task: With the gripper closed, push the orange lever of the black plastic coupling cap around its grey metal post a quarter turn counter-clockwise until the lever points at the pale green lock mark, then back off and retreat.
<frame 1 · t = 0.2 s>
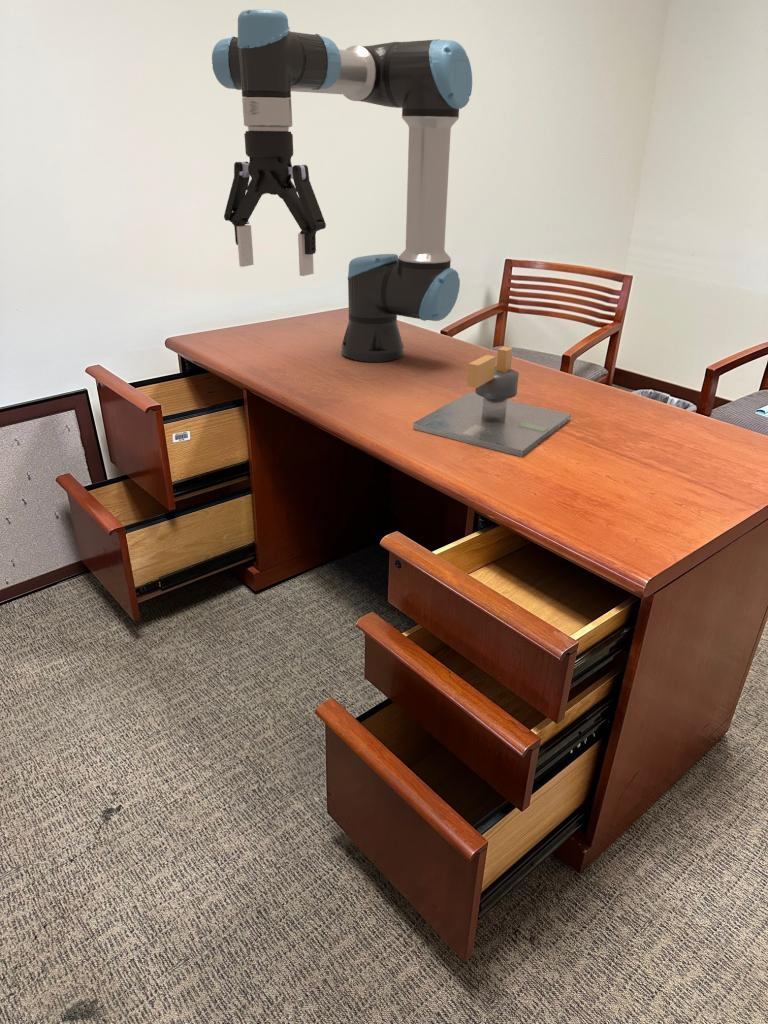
hand: (275, 270, 125), 28 cm above the table, fingers open, 13 cm apart
coupling cap: (490, 376, 132), point 10 cm above the table, hinge at 0.0°
post plate: (493, 424, 139), on the table
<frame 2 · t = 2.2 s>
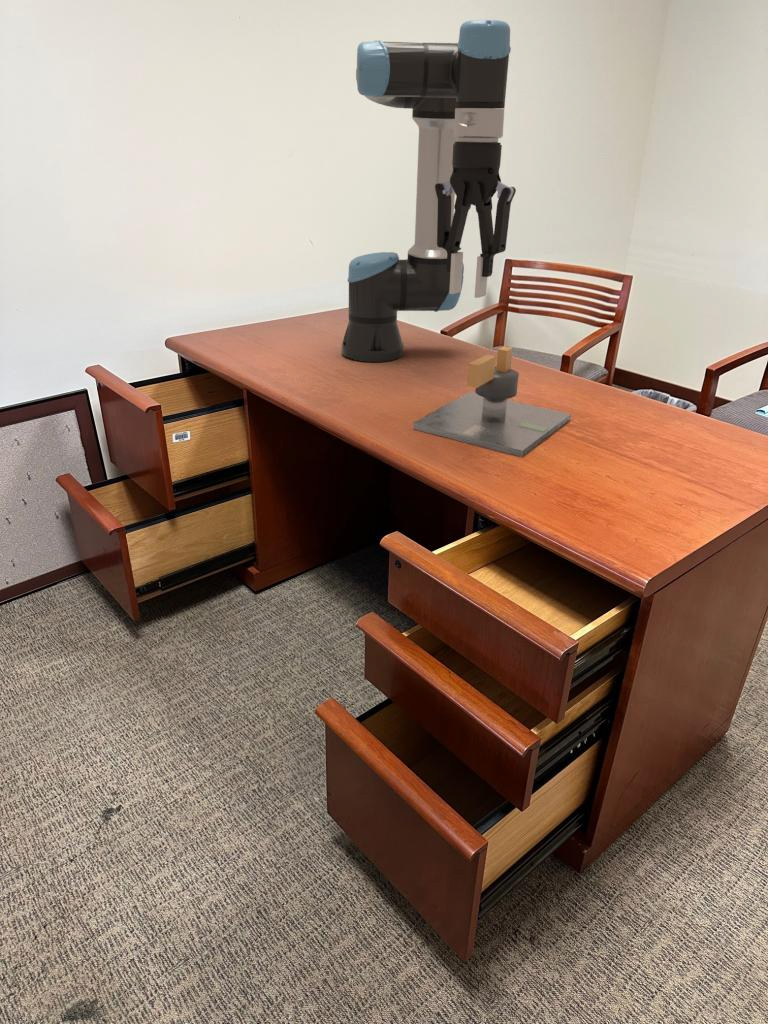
hand: (467, 294, 125), 25 cm above the table, fingers open, 4 cm apart
nothing on the table moved.
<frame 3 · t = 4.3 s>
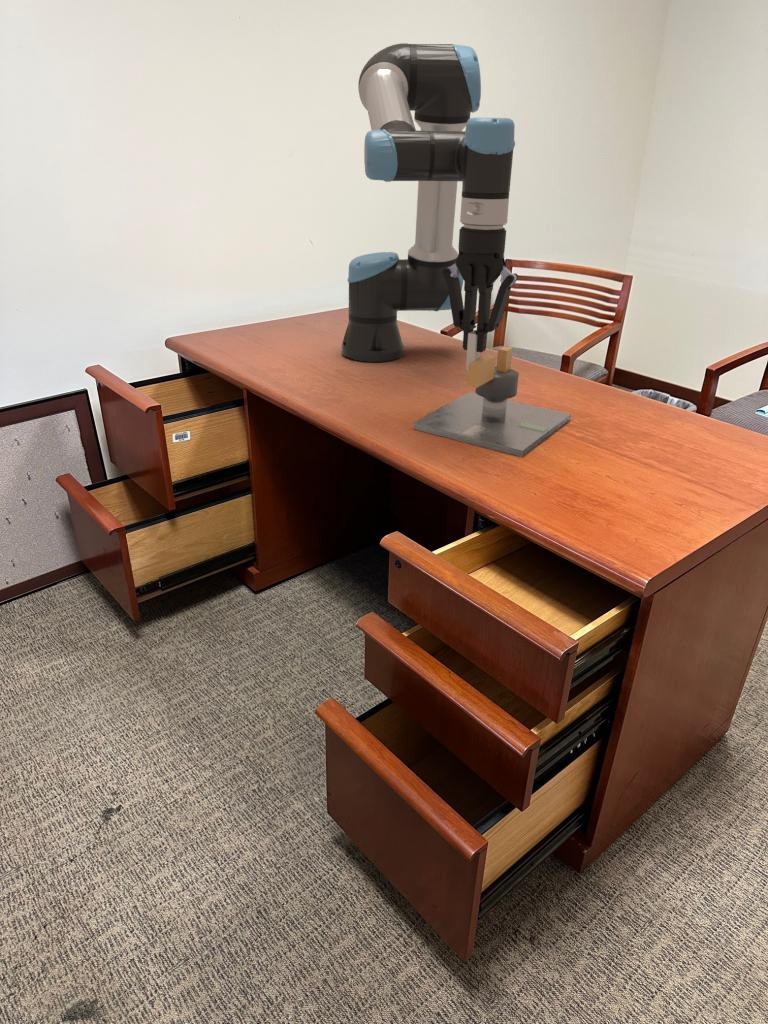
hand: (472, 368, 129), 12 cm above the table, fingers closed
coupling cap: (490, 376, 132), point 10 cm above the table, hinge at 0.0°, touching gripper
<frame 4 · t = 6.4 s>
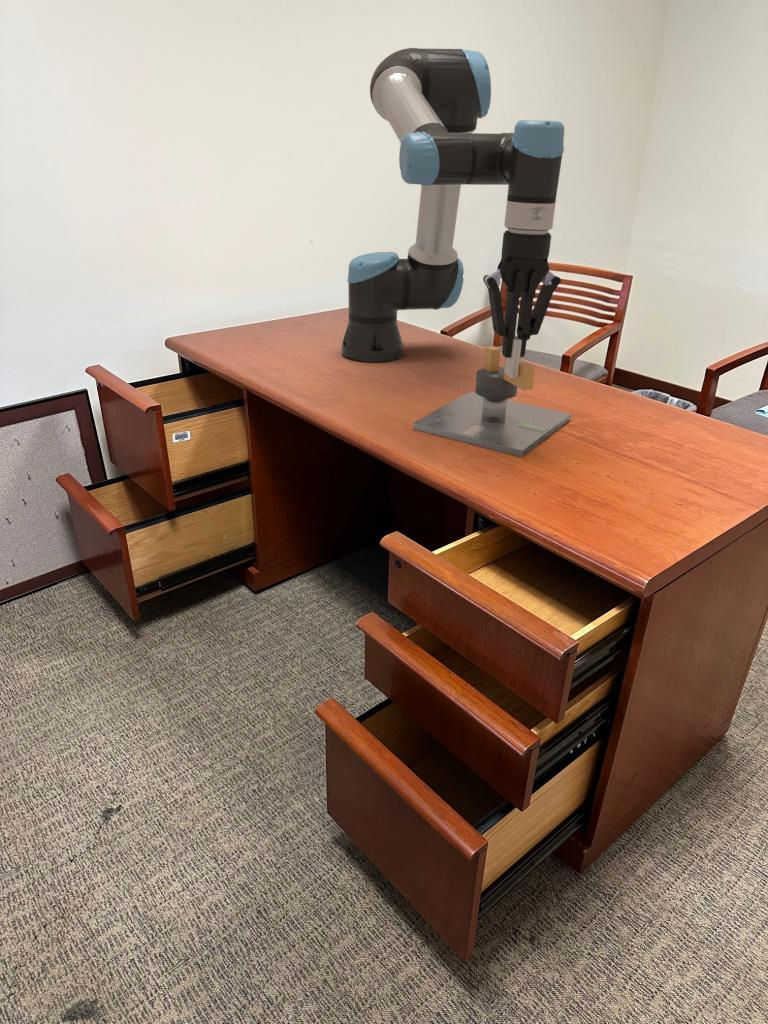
hand: (510, 375, 127), 12 cm above the table, fingers closed
coupling cap: (506, 377, 132), point 10 cm above the table, hinge at 57.3°, touching gripper
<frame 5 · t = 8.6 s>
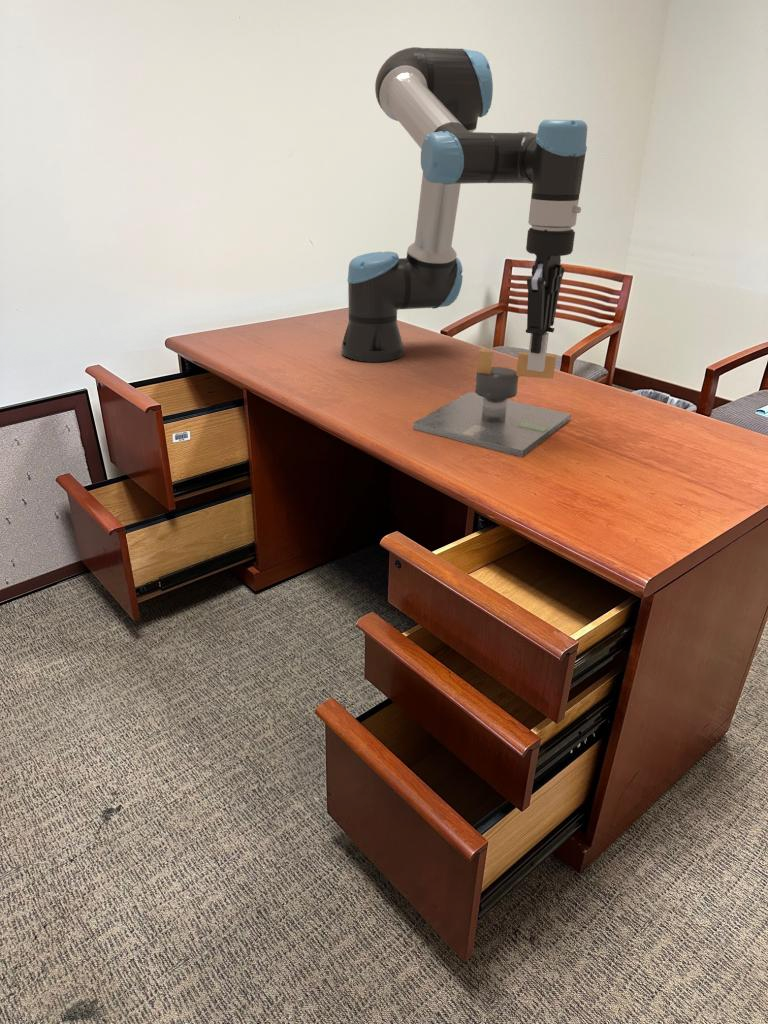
hand: (535, 369, 130), 12 cm above the table, fingers closed
coupling cap: (514, 373, 134), point 10 cm above the table, hinge at 111.9°
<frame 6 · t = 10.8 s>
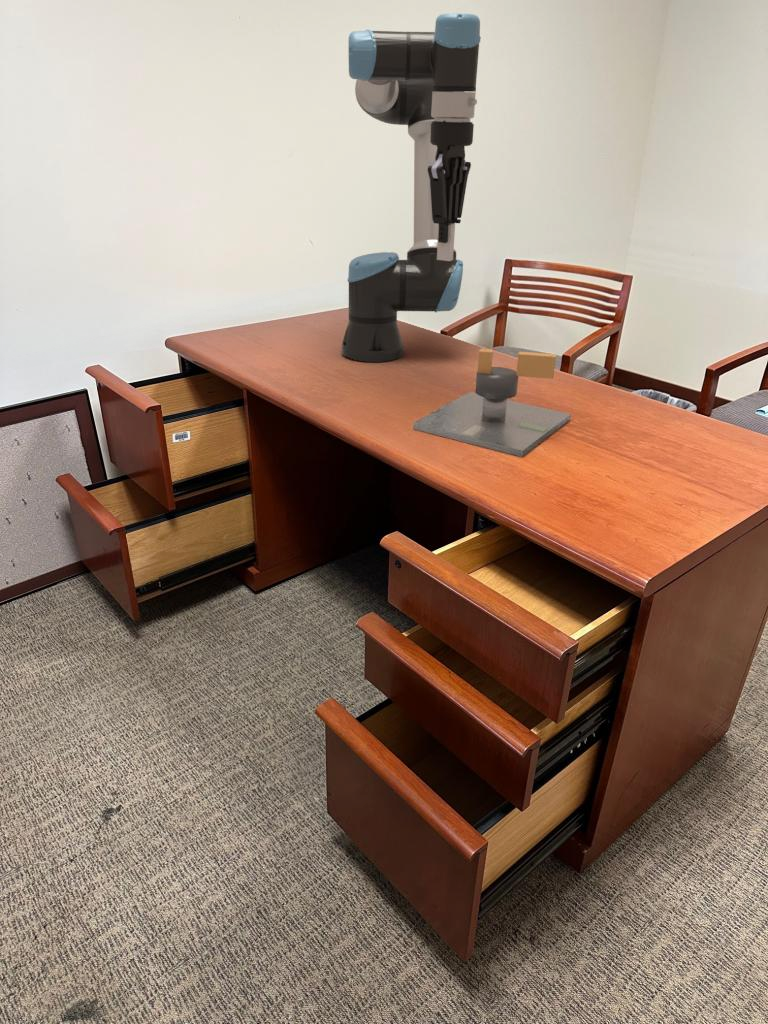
hand: (444, 259, 140), 27 cm above the table, fingers closed
nothing on the table moved.
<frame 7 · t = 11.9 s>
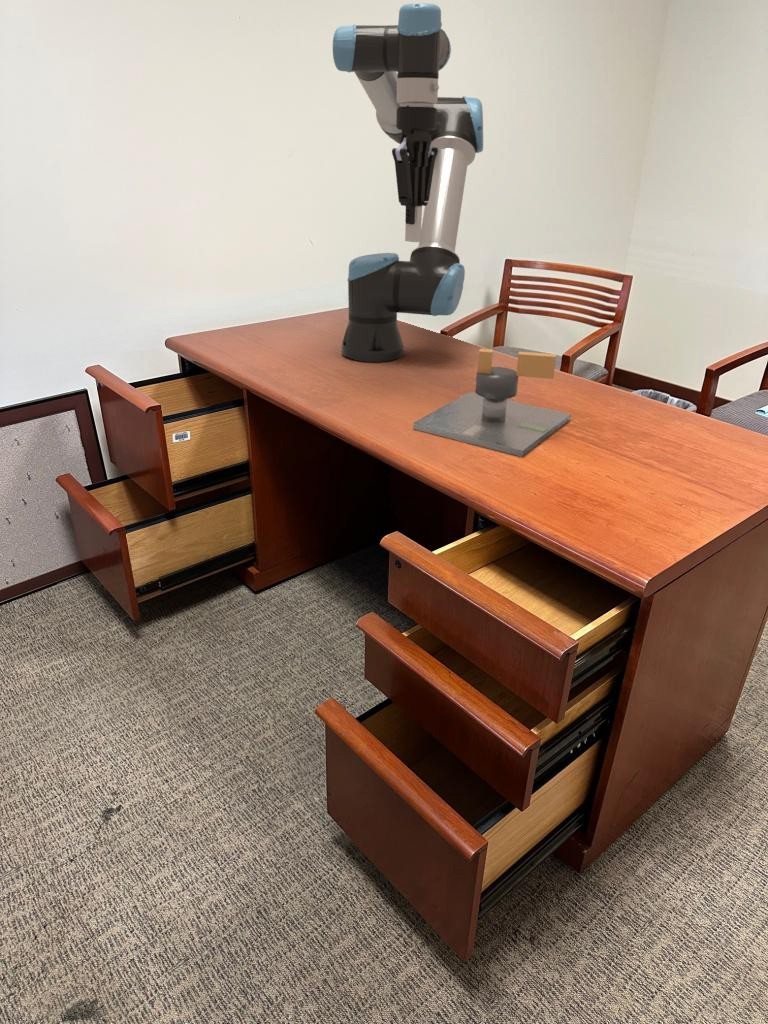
hand: (412, 241, 146), 29 cm above the table, fingers closed
nothing on the table moved.
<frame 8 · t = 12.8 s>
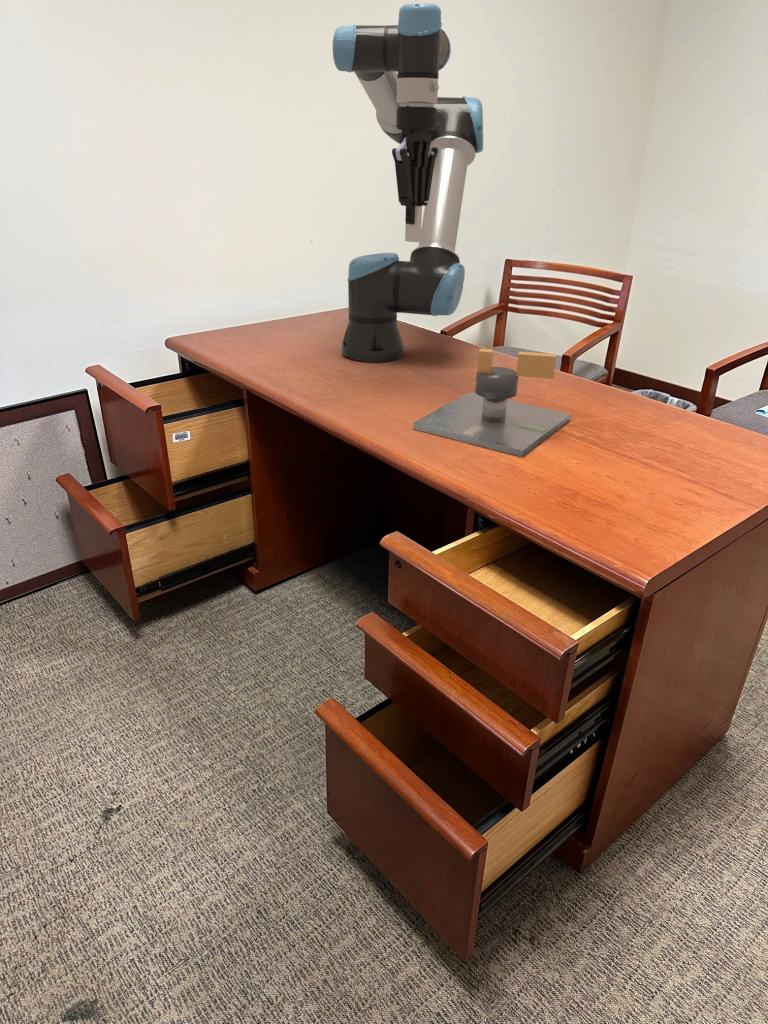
hand: (412, 241, 146), 29 cm above the table, fingers closed
nothing on the table moved.
at the end: coupling cap at +112° (first picture: +0°); the gripper is holding nothing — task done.
